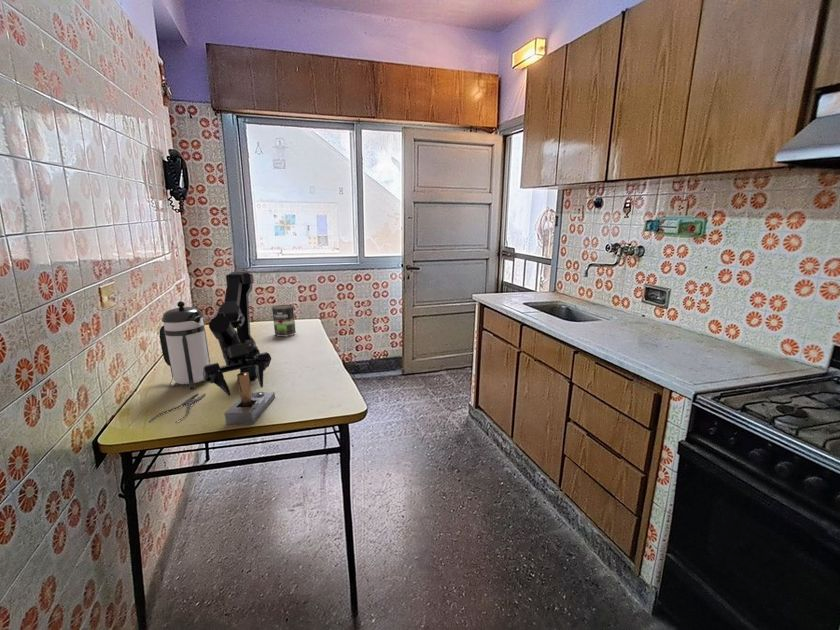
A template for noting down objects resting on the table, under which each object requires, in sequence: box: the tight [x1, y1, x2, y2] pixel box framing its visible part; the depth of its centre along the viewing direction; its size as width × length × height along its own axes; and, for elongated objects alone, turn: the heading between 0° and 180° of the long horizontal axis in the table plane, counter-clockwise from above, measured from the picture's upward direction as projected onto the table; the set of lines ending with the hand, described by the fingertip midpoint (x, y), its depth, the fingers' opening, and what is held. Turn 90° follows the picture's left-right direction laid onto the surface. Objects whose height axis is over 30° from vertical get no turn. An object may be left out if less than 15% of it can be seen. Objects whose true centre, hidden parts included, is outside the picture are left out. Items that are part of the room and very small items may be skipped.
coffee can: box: [271, 304, 297, 337], centre depth 210 cm, size 10×10×14 cm
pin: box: [236, 372, 253, 407], centre depth 125 cm, size 3×3×13 cm
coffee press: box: [158, 300, 211, 390], centre depth 149 cm, size 17×16×30 cm
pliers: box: [148, 392, 206, 423], centre depth 132 cm, size 10×1×20 cm
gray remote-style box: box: [224, 391, 276, 426], centre depth 129 cm, size 18×8×4 cm, turn 179°
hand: (246, 391), depth 124 cm, fingers open, 9 cm apart
